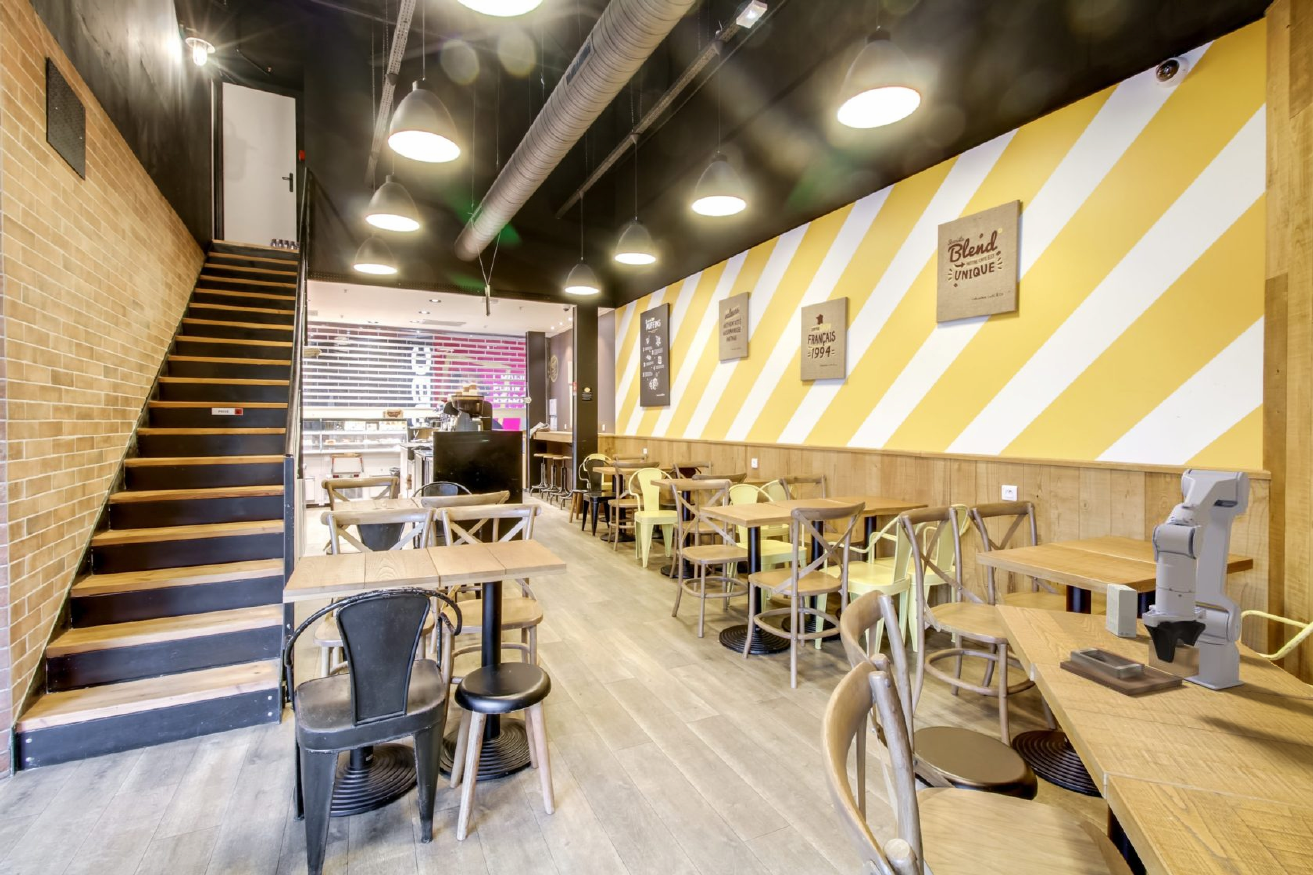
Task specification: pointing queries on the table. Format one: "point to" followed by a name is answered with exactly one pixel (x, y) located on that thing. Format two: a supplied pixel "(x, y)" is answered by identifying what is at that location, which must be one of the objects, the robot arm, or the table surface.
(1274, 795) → the table surface
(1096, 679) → the board
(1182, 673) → the knob block
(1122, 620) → the skincare box
